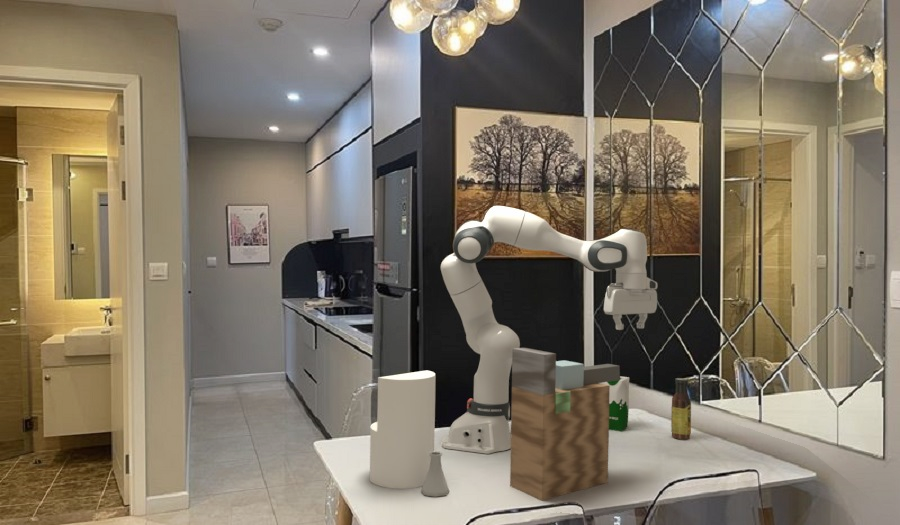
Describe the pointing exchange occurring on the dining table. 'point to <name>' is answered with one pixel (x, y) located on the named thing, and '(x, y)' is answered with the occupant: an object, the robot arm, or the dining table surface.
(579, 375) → the mallet
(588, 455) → the wood grain block
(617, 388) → the milk carton
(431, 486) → the flask
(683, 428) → the sauce bottle
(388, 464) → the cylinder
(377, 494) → the dining table surface
